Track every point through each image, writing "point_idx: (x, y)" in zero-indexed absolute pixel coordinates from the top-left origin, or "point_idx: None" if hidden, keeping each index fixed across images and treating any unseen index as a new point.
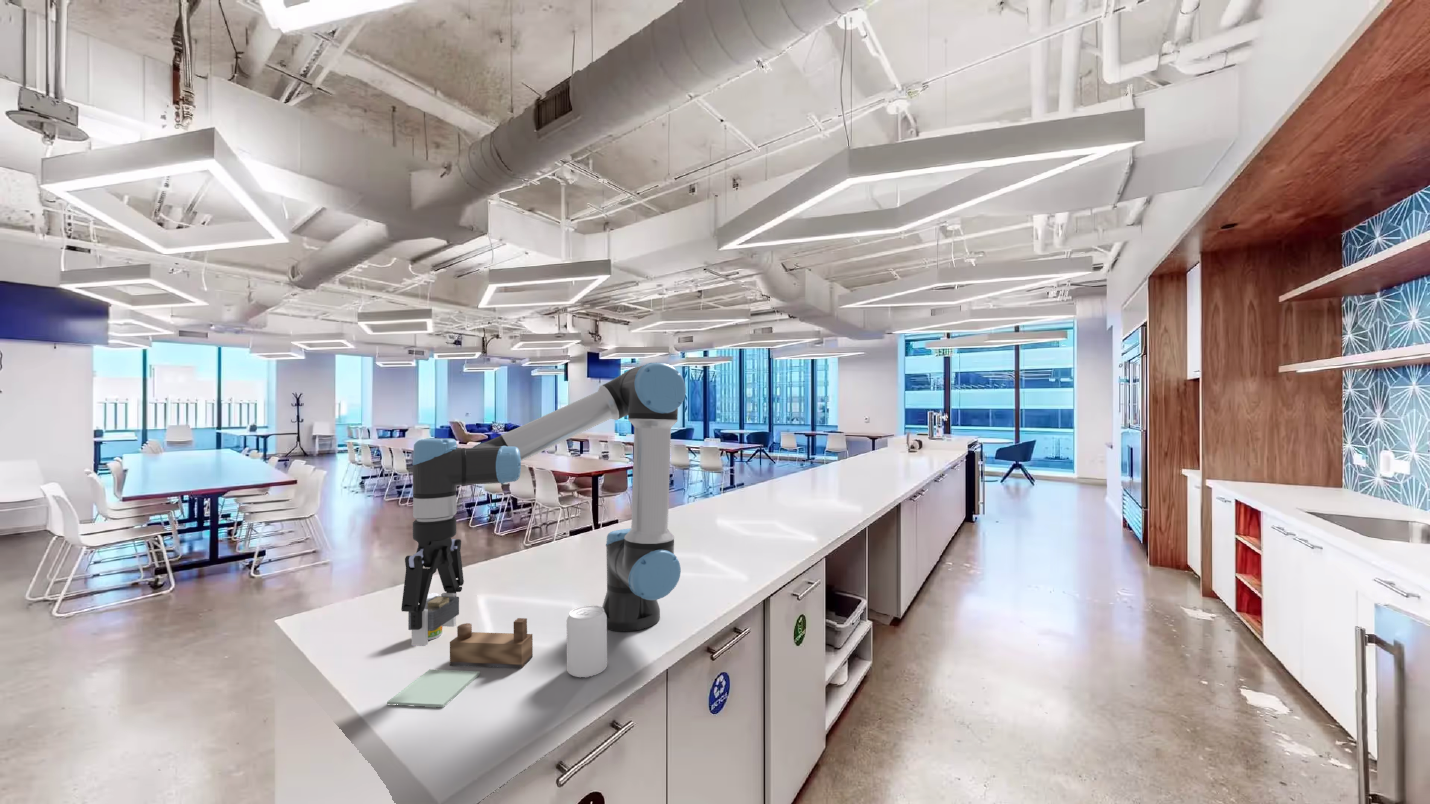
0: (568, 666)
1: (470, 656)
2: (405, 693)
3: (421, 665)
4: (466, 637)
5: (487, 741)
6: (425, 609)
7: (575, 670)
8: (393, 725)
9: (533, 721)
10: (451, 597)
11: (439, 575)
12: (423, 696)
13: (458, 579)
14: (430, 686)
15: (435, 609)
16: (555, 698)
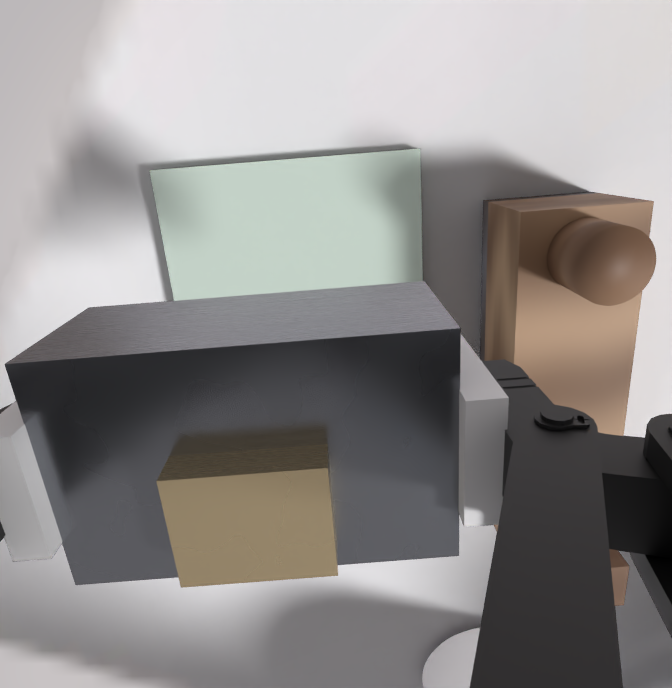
0: (445, 663)
1: (493, 309)
2: (219, 199)
3: (480, 49)
4: (559, 284)
5: (95, 596)
6: (39, 543)
7: (427, 683)
8: (62, 300)
9: (203, 649)
10: (432, 507)
11: (489, 591)
12: (219, 289)
13: (657, 592)
14: (287, 263)
15: (125, 568)
16: (316, 651)
